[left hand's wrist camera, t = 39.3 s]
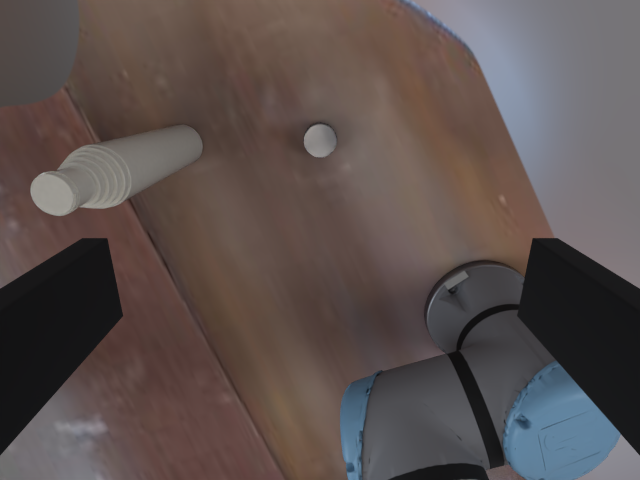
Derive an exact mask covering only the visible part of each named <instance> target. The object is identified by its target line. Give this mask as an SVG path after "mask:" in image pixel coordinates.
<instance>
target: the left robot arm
mask: <svg viewBox="0 0 640 480" xmlns="http://www.w3.org/2000/svg"><path fill="white" fill-rule="evenodd" d="M122 316H123V313H122V308H121V304H120V299H119V294H118V289H117V284H116V279H115V274H114V269H113V264H112V259H111V254H110V250H109V245H108V240H107V238H82V239H80V240H79V241H77V242H76V243H74V244H72V245H71V246H69V247H67V248H66V249H64V250H63V251H61V252H59V253H58V254H56V255H54V256H53V257H51V258H50V259H48V260H46V261H45V262H43V263H41V264H40V265H38V266H37V267H35V268H33V269H32V270H30V271H28V272H27V273H25V274H24V275H22V276H20V277H19V278H17V279H15V280H14V281H12V282H11V283H9V284H7V285H6V286H4V287H2V288H1V289H0V455H1V454H2V453H3V452H4V450H5V449H6V448H7V447H8V446H9V445H10V444H11V443H12V441H13V440H14V439H15V438H16V437H17V436H18V435H19V433H20V432H21V431H22V430H23V429H24V428H25V427H26V425H27V424H28V423H29V422H30V421H31V420H32V419H33V418H34V416H35V415H36V414H37V413H38V412H39V411H40V410H41V408H42V407H43V406H44V405H45V404H46V403H47V402H48V401H49V399H50V398H51V397H52V396H53V395H54V394H55V393H56V391H57V390H58V389H59V388H60V387H61V386H62V385H63V383H64V382H65V381H66V380H67V379H68V378H69V377H70V376H71V374H72V373H73V372H74V371H75V370H76V369H77V368H78V366H79V365H80V364H81V363H82V362H83V361H84V360H85V359H86V357H87V356H88V355H89V354H90V353H91V352H92V351H93V349H94V348H95V347H96V346H97V345H98V344H99V343H100V341H101V340H102V339H103V338H104V337H105V336H106V335H107V334H108V332H109V331H110V330H111V329H112V328H113V327H114V326H115V324H116V323H117V322H118V321H119V320H120V319H121V318H122ZM424 316H425V323H426V326H427V329H428V331H429V333H430V335H431V338H432V339H433V341H434V343H435V344H436V345H437V346H438V347H439V348H440V349H441V350H442V351H443V352H445V353H446V354H443V355H440V356H436V357H433V358H429V359H425V360H422V361H418V362H415V363H411V364H408V365H404V366H400V367H397V368H393V369H390V370H386V371H382V370H381V371H377V372H376V373H375V374H374V375H371V376H368V377H365V378H363V379H360V380H357V381H354V382H352V383H351V384H350V385H349V386H348V387H347V389H346V390H345V393H344V395H343V398H342V402H341V411H340V430H341V442H342V451H343V457H344V461H345V462H346V469H347V476H348V480H489V479H488V476H487V474H486V471H485V470H488V469H492V468H496V467H500V466H504V465H508V464H509V465H510V466H511V467H512V469H513V470H514V471H516V472H517V473H518V474H519V475H520V476H521V477H523V478H525V479H526V480H575V479H577V478H579V477H581V476H583V475H585V474H587V473H589V472H590V471H592V470H593V469H594V468H596V467H597V466H598V465H599V464H600V463H601V462H602V461H604V460H605V459H606V458H607V456H608V454H609V452H610V451H611V450H612V449H613V448H614V447H615V445H616V443H617V442H618V440H619V437H620V435H622V436H623V437H624V438H625V439H626V440H627V441H628V443H629V444H630V445H631V446H632V447H633V448H634V449H635V450H636V452H637V453H638V454H639V455H640V289H639V288H638V287H636V286H634V285H633V284H631V283H629V282H628V281H626V280H625V279H623V278H621V277H620V276H618V275H616V274H615V273H613V272H611V271H610V270H608V269H607V268H605V267H603V266H602V265H600V264H599V263H597V262H595V261H594V260H592V259H590V258H589V257H587V256H586V255H584V254H582V253H581V252H579V251H577V250H576V249H574V248H572V247H571V246H569V245H568V244H566V243H564V242H563V241H561V240H559V239H558V238H533V240H532V245H531V250H530V254H529V259H528V264H527V269H526V274H525V278H524V277H523V276H522V275H521V274H520V273H519V272H518V271H516V270H515V269H513V268H512V267H510V266H508V265H505V264H502V263H499V262H493V261H478V262H472V263H468V264H465V265H462V266H460V267H457V268H455V269H454V270H452V271H450V272H449V273H447V274H446V275H445V276H443V277H442V278H441V279H440V280H439V281H438V282H437V283H436V285H435V286H434V287H433V289H432V290H431V292H430V294H429V296H428V298H427V301H426V305H425V313H424Z"/></svg>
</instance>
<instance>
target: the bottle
mask: <svg viewBox="0 0 640 480" xmlns="http://www.w3.org/2000/svg"><path fill="white" fill-rule="evenodd" d="M202 150H203V144H202V140H201V138H200V136H199V134H198V133H197V132H196V131H195V130H194V129H193V128H191V127H189V126H187V125H182V124H179V125H174V126H169V127H165V128H160V129H156V130H151V131H147V132H143V133H138V134H134V135H129V136H125V137H121V138H116V139H112V140H107V141H103V142H99V143H94V144H90V145H85V146H82V147H80V148H78V149H77V150H75V151H73V152H72V153H71V154H70V155H69V156H68V157H67V158H66V159H65V160H64V162H63V163H62V164H61V166H60V167H59V168H58V169H57V170H56V171H49V172H44V173H42V174H40V175H39V176H38V177H36V178H35V179H34V180H33V182H32V184H31V189H30V191H31V196H32V199H33V201H34V203H35V204H36V205H37V206H38V207H39V208H40V209H41V210H43V211H44V212H46V213H48V214H52V215H57V216H62V215H66V214H68V213H70V212H73V211H74V210H75V209H77V208H78V207H84V208H98V209H102V208H108V207H113V206H116V205H118V204H120V203H122V202H124V201H126V200H127V199H129V198H131V197H133V196H135V195H136V194H138V193H140V192H142V191H144V190H145V189H147V188H149V187H151V186H153V185H154V184H156V183H158V182H160V181H162V180H163V179H165V178H167V177H169V176H171V175H172V174H174V173H176V172H178V171H179V170H181V169H183V168H185V167H187V166H188V165H190V164H192V163H194V162H195V161H197V160H198V159H199V157H200V156H201V154H202Z"/></svg>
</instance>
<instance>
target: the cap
mask: <svg viewBox="0 0 640 480" xmlns="http://www.w3.org/2000/svg"><path fill="white" fill-rule="evenodd" d="M335 134H336V133H335V132H334V129H332V128H331V126H329V125H328V124H325V123H321V122H320V123H315V124H313V125H311V126H310V127H309V128H308V129H307V131H306V132H305V135H304V145H305V148H306V150H307V151H308V152H309V154H311V155H312V156H315V157H320V158H321V157H326V156H328V155H330V154H331V153H332V152H333V151H334V149H335V147H336V142H337V139H336V138H337V137H336V135H335Z"/></svg>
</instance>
